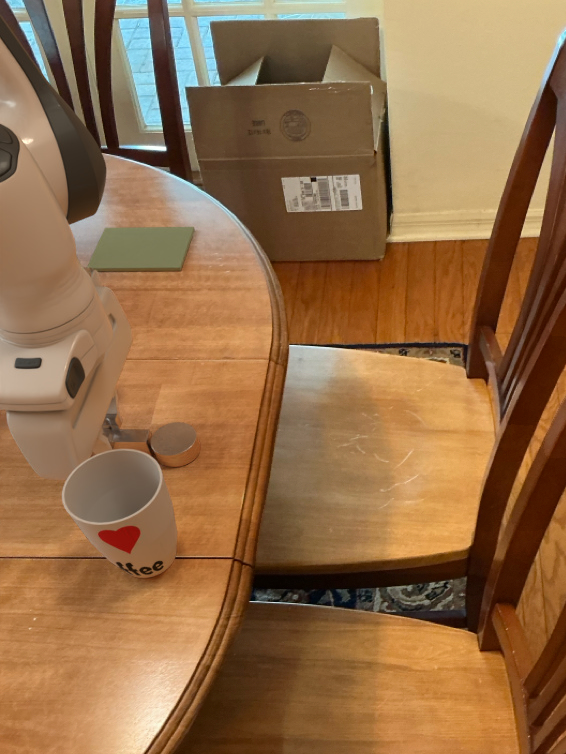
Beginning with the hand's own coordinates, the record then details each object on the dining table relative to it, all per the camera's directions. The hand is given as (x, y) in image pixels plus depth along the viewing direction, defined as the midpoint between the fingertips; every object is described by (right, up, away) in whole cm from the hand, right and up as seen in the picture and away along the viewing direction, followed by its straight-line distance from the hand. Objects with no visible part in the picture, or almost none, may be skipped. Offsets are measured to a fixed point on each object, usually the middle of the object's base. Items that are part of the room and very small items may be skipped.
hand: (110, 438), depth 77 cm
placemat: (-4, +27, +22) cm, 35 cm away
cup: (+6, -12, -6) cm, 15 cm away
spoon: (+3, -1, +1) cm, 3 cm away
